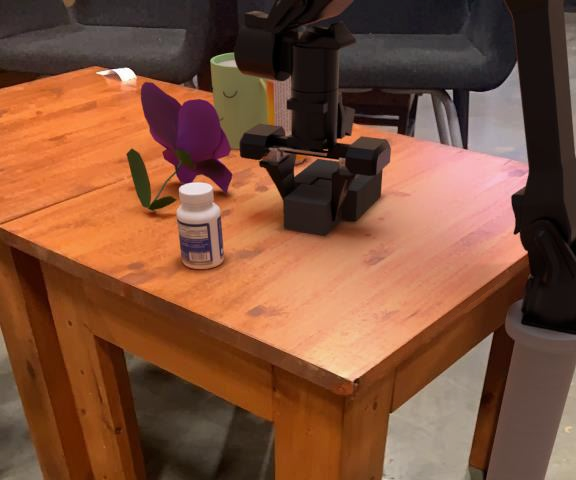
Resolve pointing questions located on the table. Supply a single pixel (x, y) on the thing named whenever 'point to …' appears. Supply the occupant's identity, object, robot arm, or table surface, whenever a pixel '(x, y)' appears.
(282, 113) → the beer can
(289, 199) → the black block
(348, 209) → the black notched block
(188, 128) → the flower
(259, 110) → the mug
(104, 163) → the table surface
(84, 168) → the table surface
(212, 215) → the pill bottle
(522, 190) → the robot arm
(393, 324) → the table surface
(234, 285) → the table surface
